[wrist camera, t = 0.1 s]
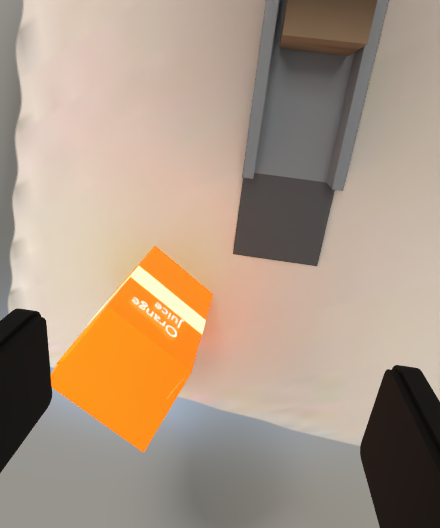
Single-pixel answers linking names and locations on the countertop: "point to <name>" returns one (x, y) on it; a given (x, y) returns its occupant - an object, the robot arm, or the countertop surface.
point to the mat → (282, 218)
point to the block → (327, 25)
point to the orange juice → (137, 349)
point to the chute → (307, 105)
